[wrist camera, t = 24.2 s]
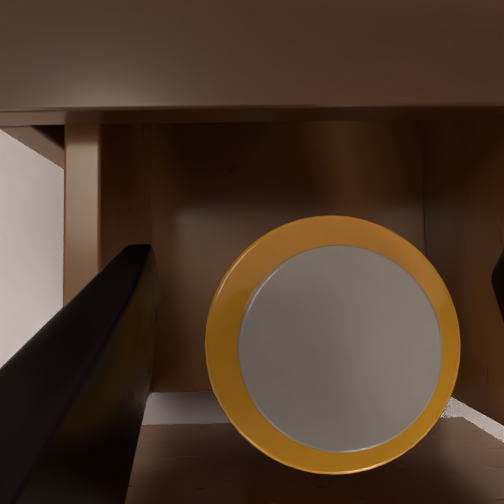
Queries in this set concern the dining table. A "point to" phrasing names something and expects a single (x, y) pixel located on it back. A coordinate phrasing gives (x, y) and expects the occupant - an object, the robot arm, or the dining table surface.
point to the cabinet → (244, 62)
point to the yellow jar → (332, 344)
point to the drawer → (259, 223)
